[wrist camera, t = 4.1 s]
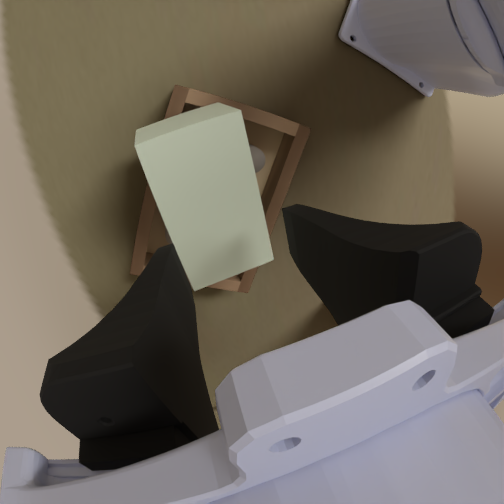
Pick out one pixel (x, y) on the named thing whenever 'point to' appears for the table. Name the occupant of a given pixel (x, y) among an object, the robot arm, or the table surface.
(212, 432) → the robot arm
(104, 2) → the table surface
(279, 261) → the table surface
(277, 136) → the wooden tray
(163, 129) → the pale green block
